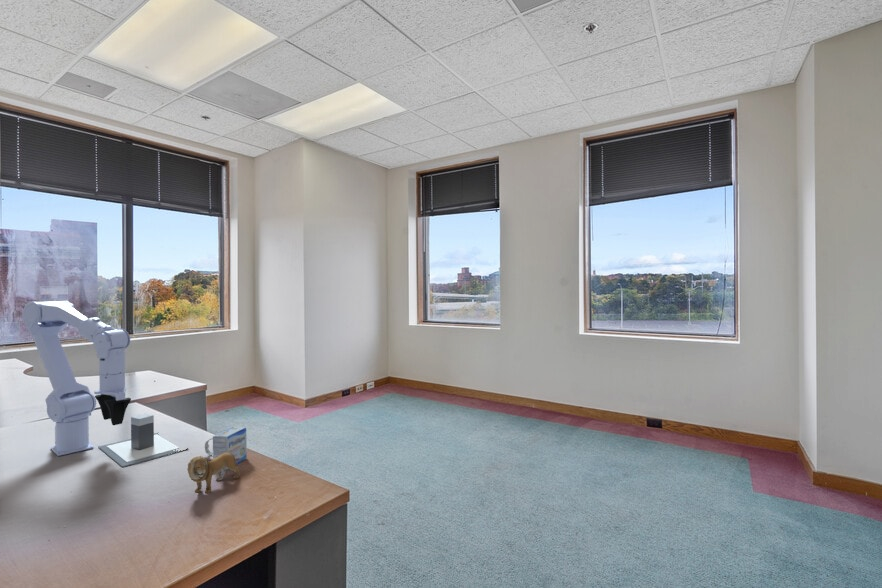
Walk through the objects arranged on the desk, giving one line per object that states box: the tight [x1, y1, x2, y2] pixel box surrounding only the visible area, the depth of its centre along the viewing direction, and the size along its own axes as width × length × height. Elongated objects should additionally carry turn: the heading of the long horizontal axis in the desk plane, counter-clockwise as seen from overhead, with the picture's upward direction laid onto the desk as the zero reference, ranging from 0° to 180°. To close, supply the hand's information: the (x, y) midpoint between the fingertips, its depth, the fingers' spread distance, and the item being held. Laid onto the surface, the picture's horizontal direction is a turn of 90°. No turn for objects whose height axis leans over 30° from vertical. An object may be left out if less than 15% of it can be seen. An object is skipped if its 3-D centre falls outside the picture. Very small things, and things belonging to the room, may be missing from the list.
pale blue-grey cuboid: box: [130, 413, 155, 450], centre depth 126 cm, size 4×4×9 cm
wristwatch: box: [204, 437, 213, 456], centre depth 122 cm, size 3×5×5 cm, turn 89°
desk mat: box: [97, 432, 182, 468], centre depth 126 cm, size 22×16×1 cm
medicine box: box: [212, 426, 248, 471], centre depth 116 cm, size 8×4×9 cm, turn 168°
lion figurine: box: [187, 453, 240, 494], centre depth 103 cm, size 15×5×9 cm, turn 166°
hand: (112, 421), depth 121 cm, fingers open, 7 cm apart
